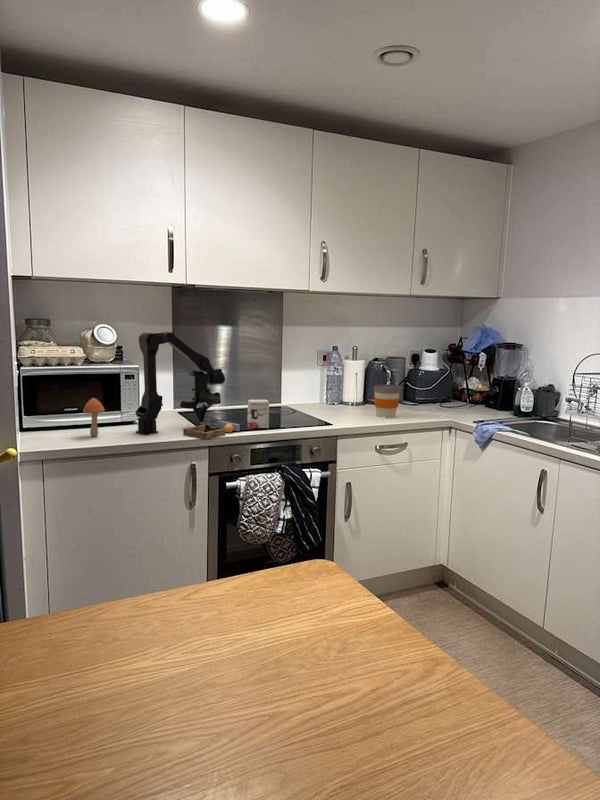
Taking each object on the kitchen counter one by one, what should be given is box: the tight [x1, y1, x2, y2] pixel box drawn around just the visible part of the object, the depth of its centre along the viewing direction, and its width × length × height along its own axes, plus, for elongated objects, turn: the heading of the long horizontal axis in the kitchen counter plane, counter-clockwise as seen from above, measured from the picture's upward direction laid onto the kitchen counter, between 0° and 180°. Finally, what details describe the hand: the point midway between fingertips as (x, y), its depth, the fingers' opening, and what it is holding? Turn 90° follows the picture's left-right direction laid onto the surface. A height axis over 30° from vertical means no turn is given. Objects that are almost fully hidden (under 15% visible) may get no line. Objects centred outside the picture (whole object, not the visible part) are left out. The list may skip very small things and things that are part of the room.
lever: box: [199, 417, 241, 432], centre depth 240 cm, size 3×21×3 cm, turn 54°
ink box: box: [246, 399, 270, 430], centre depth 243 cm, size 9×5×12 cm, turn 105°
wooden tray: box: [183, 424, 226, 440], centre depth 227 cm, size 11×12×2 cm
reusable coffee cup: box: [373, 384, 401, 419], centre depth 276 cm, size 13×13×15 cm
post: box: [208, 421, 219, 429], centre depth 242 cm, size 4×4×2 cm
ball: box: [224, 424, 233, 434], centre depth 232 cm, size 4×4×4 cm
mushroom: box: [82, 397, 106, 437], centre depth 219 cm, size 8×8×15 cm
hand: (201, 422), depth 244 cm, fingers closed
